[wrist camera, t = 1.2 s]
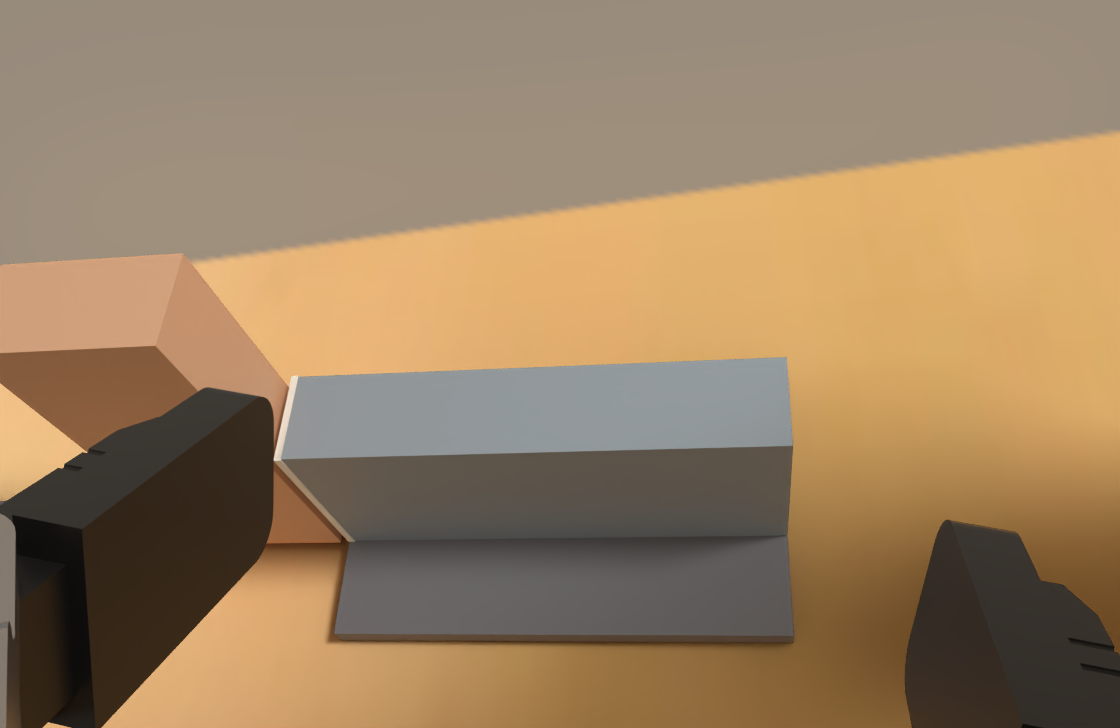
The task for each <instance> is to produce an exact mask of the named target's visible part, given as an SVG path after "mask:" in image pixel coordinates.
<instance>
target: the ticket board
mask: <svg viewBox="0 0 1120 728" xmlns="http://www.w3.org/2000/svg"><path fill="white" fill-rule="evenodd" d="M792 454H793V439H792V425H791V411H790V397H789V383H788V369H787V357H781V358H756V359H731V360H706V361H681V362H657V363H632V364H607V365H582V366H558V367H533V368H508V369H483V370H458V371H434V372H409V373H384V374H359V375H335V376H310V377H299V376H292V377H291V382H290V386H289V391H288V396H287V400H286V405H285V409H284V414H283V419H282V423H281V428H280V432H279V437H278V442H277V446H276V451H275V455H274V462H275V463H276V464H277V465H278V466H279V467H280V468H281V470H282V471H283V472H284V473H285V474H286V475H287V476H288V477H289V478H290V479H291V480H292V481H293V483H294V484H295V485H296V486H297V487H298V488H299V489H300V490H301V491H302V492H303V493H304V494H305V495H306V497H307V498H308V499H309V500H310V501H311V502H312V503H313V504H314V505H315V506H316V507H317V508H318V509H319V511H320V512H321V513H322V514H323V515H324V516H325V517H326V518H327V519H328V520H329V521H330V522H331V523H332V525H333V526H334V527H335V528H336V529H337V530H338V531H339V532H340V533H341V534H342V535H343V536H344V537H345V539H346V540H347V541H348V542H349V546H348V552H347V558H346V564H345V570H344V576H343V582H342V588H341V594H340V600H339V606H338V612H337V618H336V624H335V630H334V634H335V635H336V636H337V637H338V638H340V639H341V640H405V641H581V642H757V643H793V640H794V630H793V614H792V599H791V584H790V569H789V553H788V538H787V533H788V517H789V501H790V486H791V470H792ZM4 502H6V501H0V505H1V504H3V503H4Z"/></svg>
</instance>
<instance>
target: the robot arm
mask: <svg viewBox="0 0 1120 728" xmlns="http://www.w3.org/2000/svg"><path fill="white" fill-rule="evenodd" d="M273 501H274V415H273V409H272V406H271V403H270V402H269V400H268V399H267V398H265V397H261V396H255V395H250V394H244V393H238V392H233V391H227V390H222V389H216V388H210V387H206V388H203V389H201V390H200V391H198V392H197V393H195V394H194V395H192V396H191V397H189V398H188V399H186V400H184V401H183V402H181V403H180V404H178V405H177V406H175V407H174V408H172V409H171V410H169V411H168V412H166V413H165V414H163V415H162V416H160V417H156V418H153V419H150V420H147V421H144V422H141V423H138V424H135V425H132V426H129V427H126V428H122V429H119V430H117V431H115V432H114V433H112V434H111V435H109V436H107V437H106V438H104V439H103V440H101V441H100V442H98V443H97V444H95V445H93V446H92V447H90V448H89V449H88V453H83V452H82V453H81V454H79V455H78V456H76V457H75V458H73V459H72V460H70V461H68V462H67V463H65V464H64V468H63V469H61V468H57V469H56V470H54V471H53V472H51V473H50V474H48V475H47V476H45V477H43V478H42V479H40V480H39V481H37V482H36V483H34V484H32V485H31V486H29V487H28V488H26V489H25V490H23V491H22V492H20V493H18V494H17V495H15V496H14V497H12V498H11V499H9V500H7V501H6V502H4V503H3V504H1V505H0V728H42V727H43V726H44V725H46V724H47V723H48V722H50V723H54V724H58V725H63V726H67V727H71V728H101V727H102V726H103V725H104V724H105V723H106V722H107V721H108V720H109V719H110V718H111V717H112V715H113V714H114V713H115V712H116V711H117V710H118V709H119V708H120V707H121V706H122V705H123V704H124V703H125V702H126V701H127V699H128V698H129V697H130V696H131V695H132V694H133V693H134V692H135V691H136V690H137V689H138V688H139V687H140V686H141V684H142V683H143V682H144V681H145V680H146V679H147V678H148V677H149V676H150V675H151V674H152V673H153V672H154V671H155V670H156V668H157V667H158V666H159V665H160V664H161V663H162V662H163V661H164V660H165V659H166V658H167V657H168V656H169V655H170V653H171V652H172V651H173V650H174V649H175V648H176V647H177V646H178V645H179V644H180V643H181V642H182V641H183V640H184V639H185V637H186V636H187V635H188V634H189V633H190V632H191V631H192V630H193V629H194V628H195V627H196V626H197V625H198V624H199V623H200V621H201V620H202V619H203V618H204V617H205V616H206V615H207V614H208V613H209V612H210V611H211V610H212V609H213V608H214V606H215V605H216V604H217V603H218V602H219V601H220V600H221V599H222V598H223V597H224V596H225V595H226V594H227V593H228V592H229V590H230V589H231V588H232V587H233V586H234V585H235V584H236V583H237V582H238V581H239V580H240V579H241V578H242V577H243V575H244V574H245V573H246V572H247V571H248V570H249V569H250V568H251V567H252V566H253V565H254V564H255V563H256V561H257V560H258V559H259V557H260V556H261V554H262V552H263V550H264V548H265V546H266V543H267V541H268V538H269V534H270V531H271V526H272V521H273ZM905 693H906V699H907V704H908V709H909V714H910V719H911V724H912V728H1120V656H1119V654H1118V653H1117V652H1114V645H1113V643H1112V641H1111V639H1110V637H1109V635H1108V634H1107V632H1106V630H1105V628H1104V626H1103V624H1102V623H1101V621H1100V619H1099V617H1098V615H1097V614H1096V613H1094V612H1093V611H1092V610H1091V609H1090V608H1089V607H1088V606H1086V605H1085V604H1084V603H1083V602H1082V601H1081V600H1080V599H1078V598H1077V597H1076V596H1075V595H1074V594H1073V593H1072V592H1070V591H1069V590H1068V589H1067V588H1066V587H1065V586H1064V585H1061V584H1056V583H1050V582H1045V581H1041V580H1040V578H1039V576H1038V574H1037V572H1036V570H1035V568H1034V566H1033V563H1032V561H1031V559H1030V557H1029V555H1028V553H1027V551H1026V549H1025V547H1024V544H1023V542H1022V540H1021V538H1020V536H1019V535H1018V534H1017V533H1016V532H1013V531H1007V530H1002V529H996V528H990V527H985V526H979V525H973V524H968V523H962V522H957V521H951V520H946V521H944V522H943V524H942V525H941V527H940V529H939V531H938V534H937V537H936V540H935V543H934V547H933V551H932V555H931V558H930V562H929V566H928V570H927V574H926V577H925V581H924V585H923V589H922V593H921V597H920V600H919V604H918V608H917V612H916V616H915V619H914V623H913V627H912V631H911V635H910V639H909V644H908V649H907V656H906V665H905Z"/></svg>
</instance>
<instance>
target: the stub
mask: <svg viewBox="0 0 1120 728" xmlns="http://www.w3.org/2000/svg"><path fill="white" fill-rule="evenodd" d="M0 383H1V384H2V385H3V386H4V387H6V388H7V389H8V390H10V391H11V392H12V393H13V394H15V395H16V396H17V397H18V398H20V399H21V400H22V401H23V402H25V403H26V404H27V405H28V406H30V407H31V408H32V409H34V410H35V411H36V412H37V413H39V414H40V415H41V416H42V417H44V418H45V419H46V420H47V421H49V422H50V423H51V424H52V425H54V426H55V427H56V428H58V429H59V430H60V431H61V432H63V433H64V434H65V435H66V436H68V437H69V438H70V439H71V440H73V441H74V442H75V443H76V444H78V445H79V446H80V447H81V448H83V449H84V450H85V451H87V452H88V449H89V448H90V447H92V446H93V445H95V444H97V443H98V442H100V441H101V440H103V439H104V438H106V437H107V436H109V435H111V434H112V433H114V432H115V431H117V430H119V429H122V428H126V427H129V426H132V425H135V424H138V423H141V422H144V421H147V420H150V419H153V418H156V417H160V416H162V415H163V414H165V413H166V412H168V411H169V410H171V409H172V408H174V407H175V406H177V405H178V404H180V403H181V402H183V401H184V400H186V399H188V398H189V397H191V396H192V395H194V394H195V393H197V392H198V391H200V390H201V389H203V388H206V387H210V388H216V389H222V390H227V391H233V392H238V393H244V394H250V395H255V396H261V397H265V398H267V399H268V400H269V402H270V403H271V406H272V409H273V415H274V455H275V451H276V446H277V442H278V437H279V432H280V428H281V423H282V419H283V414H284V409H285V405H286V400H287V396H288V391H289V387H288V386H287V384H286V383H285V382H284V381H283V379H282V378H281V377H280V376H279V374H278V373H277V372H276V370H275V369H274V368H273V367H272V365H271V364H270V363H269V362H268V360H267V359H266V358H265V356H264V355H263V354H262V353H261V351H260V350H259V349H258V348H257V346H256V345H255V344H254V343H253V341H252V340H251V339H250V337H249V336H248V335H247V334H246V332H245V331H244V330H243V329H242V327H241V326H240V325H239V323H238V322H237V321H236V320H235V318H234V317H233V316H232V315H231V313H230V312H229V311H228V309H227V308H226V307H225V306H224V304H223V303H222V302H221V301H220V299H219V298H218V297H217V296H216V294H215V293H214V292H213V290H212V289H211V288H210V287H209V285H208V284H207V283H206V282H205V280H204V279H203V278H202V276H201V275H200V274H199V273H198V271H197V270H196V269H195V268H194V266H193V265H192V264H191V263H190V261H189V260H188V259H187V257H185V255H184V254H183V253H182V254H181V253H180V254H165V255H149V256H133V257H117V258H102V259H87V260H86V259H85V260H70V261H54V262H38V263H22V264H7V265H1V267H0ZM341 541H342V534H341V533H340V532H339V531H338V530H337V529H336V528H335V527H334V526H333V525H332V523H331V522H330V521H329V520H328V519H327V518H326V517H325V516H324V515H323V514H322V513H321V512H320V511H319V509H318V508H317V507H316V506H315V505H314V504H313V503H312V502H311V501H310V500H309V499H308V498H307V497H306V495H305V494H304V493H303V492H302V491H301V490H300V489H299V488H298V487H297V486H296V485H295V484H294V483H293V481H292V480H291V479H290V478H289V477H288V476H287V475H286V474H285V473H284V472H283V471H282V470H281V468H280V467H279V466H278V465H277V464H276V463H275V462H274V501H273V521H272V526H271V531H270V534H269V538H268V541H267V543H338V542H341Z"/></svg>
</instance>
